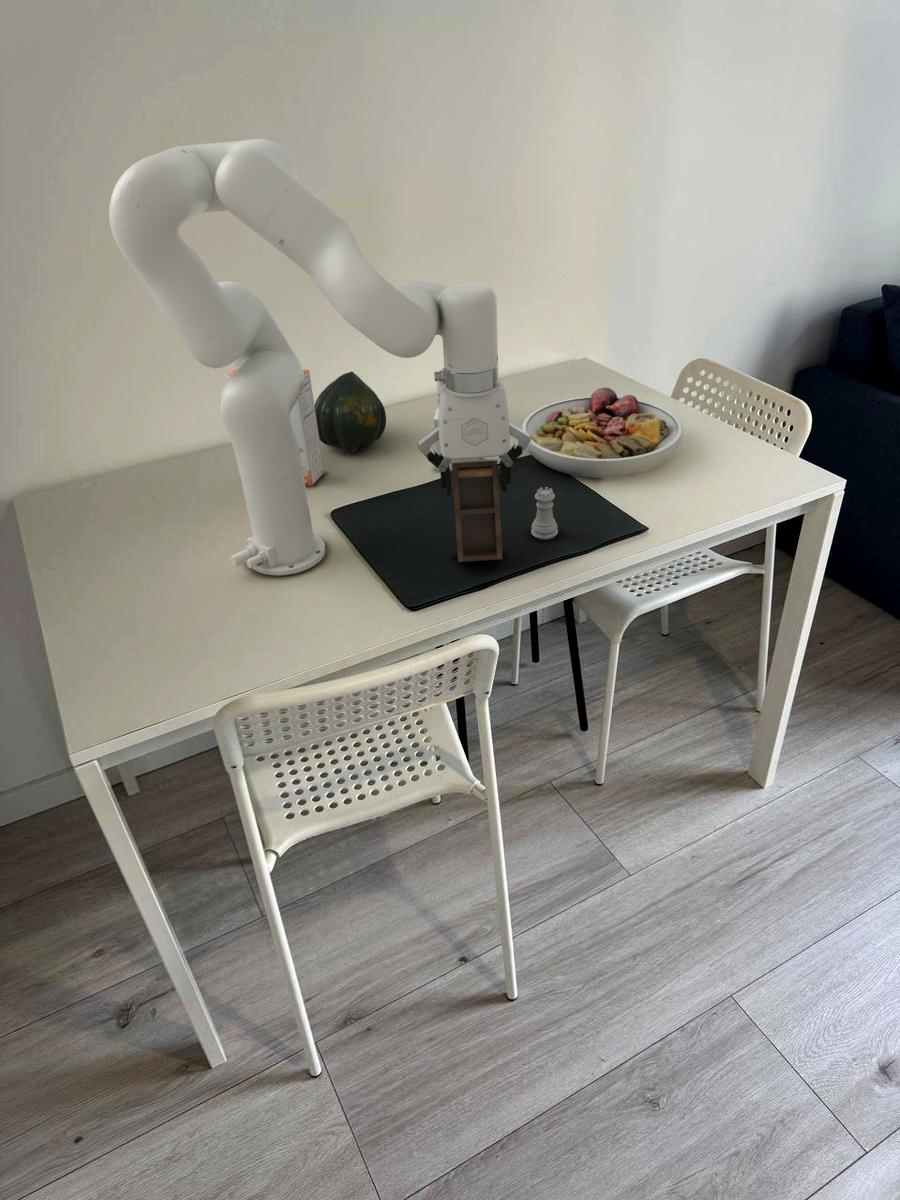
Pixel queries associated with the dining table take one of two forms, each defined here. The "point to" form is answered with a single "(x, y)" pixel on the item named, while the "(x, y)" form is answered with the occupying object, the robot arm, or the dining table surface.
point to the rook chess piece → (544, 516)
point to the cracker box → (305, 432)
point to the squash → (349, 414)
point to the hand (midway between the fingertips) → (476, 489)
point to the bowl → (602, 435)
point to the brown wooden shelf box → (477, 510)
